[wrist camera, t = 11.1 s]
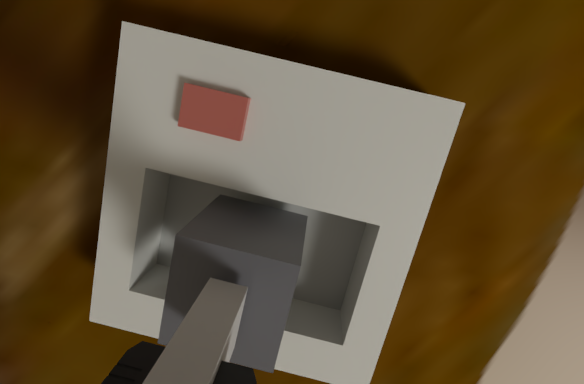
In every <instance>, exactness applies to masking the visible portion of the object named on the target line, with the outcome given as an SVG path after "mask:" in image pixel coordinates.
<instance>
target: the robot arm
mask: <svg viewBox="0 0 584 384" xmlns="http://www.w3.org/2000/svg"><path fill="white" fill-rule="evenodd" d="M247 290H248V287H245V286H241V285H238V284H234V283H230V282H226V281H222V280H218V279H214V278H210V279H209V280H208V282H207V284H206V285H205V287H204V288H203V290H202V291H201V293H200V294H199V296H198V298H197V299H196V301H195V302H194V304H193V305H192V307H191V309H190V310H189V312H188V313H187V315H186V316H185V318H184V319H183V321H182V323H181V324H180V326H179V327H178V329H177V330H176V332H175V333H174V335H173V337H172V338H171V340H170V341H169V343H168V344H167V346H166V347H163V346H159V345H155V344H152V343H148V342H144V341H142V342H140V343H139V344H137V345H135V346H134V347H132V348H130V349H129V350H127V352H126V353H125V354H124V355H123V357H122V358H121V359H120V360H119V362H118V363H117V365H115V367H114V368H113V369H112V371H111V372H110V373H109V376H107V377H106V378H105V379H104V381H103V382H102V383H101V384H256V383H257V382H256V379H255V375H254V371H253V369H252V368H249V367H245V366H241V365H237V364H233V363H229V361H230V358H231V355H232V353H233V350H234V347H235V343H236V338H237V334H238V330H239V325H240V321H241V316H242V312H243V307H244V303H245V299H246V294H247Z"/></svg>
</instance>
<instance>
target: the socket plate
mask: <svg viewBox="0 0 584 384" xmlns="http://www.w3.org/2000/svg"><path fill="white" fill-rule="evenodd" d="M464 106H465V103H462V102H458V101H454V100H450V99H446V98H442V97H437V96H433V95H429V94H425V93H421V92H416V91H412V90H408V89H404V88H400V87H396V86H391V85H387V84H383V83H379V82H375V81H371V80H366V79H362V78H358V77H354V76H350V75H346V74H341V73H337V72H333V71H329V70H325V69H320V68H316V67H312V66H308V65H304V64H300V63H295V62H291V61H287V60H283V59H279V58H275V57H270V56H266V55H262V54H258V53H254V52H249V51H245V50H241V49H237V48H233V47H229V46H224V45H220V44H216V43H212V42H208V41H204V40H199V39H195V38H191V37H187V36H183V35H179V34H174V33H170V32H166V31H162V30H158V29H153V28H149V27H145V26H141V25H137V24H133V23H128V22H124V21H122V26H121V35H120V44H119V53H118V62H117V72H116V81H115V90H114V99H113V108H112V117H111V127H110V136H109V145H108V154H107V163H106V172H105V181H104V191H103V200H102V209H101V218H100V227H99V236H98V246H97V255H96V264H95V273H94V282H93V291H92V300H91V310H90V319H89V321H92V322H96V323H100V324H104V325H107V326H111V327H115V328H119V329H123V330H127V331H131V332H134V333H138V334H142V335H146V336H150V337H154V338H159V332H160V326H161V320H162V314H163V308H164V302H165V296H166V290H167V283H168V277H169V271H170V265H171V259H172V253H173V247H174V241H175V235H176V234H177V233H178V232H179V231H180V230H181V229H182V228H183V227H184V226H186V225H187V224H188V223H189V222H190V221H191V220H192V219H193V218H194V217H196V216H197V215H198V214H199V213H200V212H201V211H202V210H203V209H204V208H206V207H207V206H208V205H209V204H210V203H211V202H212V201H213V200H214V199H216V198H217V197H218V196H219V195H220V194H222V195H226V196H230V197H234V198H238V199H242V200H246V201H250V202H254V203H258V204H262V205H266V206H270V207H274V208H278V209H282V210H286V211H290V212H294V213H298V214H302V215H306V216H308V218H307V225H306V233H305V240H304V247H303V255H302V262H301V268H300V272H299V275H298V279H297V283H296V287H295V291H294V295H293V298H292V302H291V306H290V310H289V314H288V317H287V321H286V325H285V329H284V333H283V337H282V340H281V344H280V348H279V352H278V356H277V360H276V363H275V367H274V369H277V370H281V371H285V372H289V373H293V374H296V375H300V376H304V377H308V378H312V379H316V380H320V381H323V382H327V383H331V384H370V381H371V378H372V375H373V372H374V369H375V366H376V363H377V360H378V357H379V354H380V351H381V349H382V346H383V343H384V340H385V337H386V334H387V331H388V328H389V325H390V322H391V319H392V316H393V313H394V311H395V308H396V305H397V302H398V299H399V296H400V293H401V290H402V287H403V284H404V281H405V278H406V275H407V272H408V270H409V267H410V264H411V261H412V258H413V255H414V252H415V249H416V246H417V243H418V240H419V237H420V234H421V232H422V229H423V226H424V223H425V220H426V217H427V214H428V211H429V208H430V205H431V202H432V199H433V196H434V193H435V191H436V188H437V185H438V182H439V179H440V176H441V173H442V170H443V167H444V164H445V161H446V158H447V155H448V153H449V150H450V147H451V144H452V141H453V138H454V135H455V132H456V129H457V126H458V123H459V120H460V117H461V114H462V112H463V109H464Z"/></svg>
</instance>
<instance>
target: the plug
mask: <svg viewBox="0 0 584 384" xmlns="http://www.w3.org/2000/svg"><path fill="white" fill-rule="evenodd" d="M307 218H308V216H306V215H302V214H298V213H294V212H290V211H286V210H282V209H278V208H274V207H270V206H266V205H262V204H258V203H254V202H250V201H246V200H242V199H238V198H234V197H230V196H226V195H222V194H220V195H219V196H218V197H217V198H216V199H214V200H213V201H212V202H211V203H210V204H209V205H208V206H207V207H206V208H204V209H203V210H202V211H201V212H200V213H199V214H198V215H197V216H196V217H194V218H193V219H192V220H191V221H190V222H189V223H188V224H187V225H186V226H184V227H183V228H182V229H181V230H180V231H179V232H178V233H177V234H176V235H175V241H174V247H173V253H172V259H171V265H170V271H169V277H168V283H167V290H166V296H165V302H164V308H163V314H162V320H161V326H160V332H159V338H158V343H159V344H163V345H166V346H167V344H168V343H169V341H170V340H171V338H172V337H173V335H174V333H175V332H176V330H177V329H178V327H179V326H180V324H181V323H182V321H183V319H184V318H185V316H186V315H187V313H188V312H189V310H190V309H191V307H192V305H193V304H194V302H195V301H196V299H197V298H198V296H199V294H200V293H201V291H202V290H203V288H204V287H205V285H206V284H207V282H208V280H209V279H210V278H214V279H218V280H222V281H226V282H230V283H234V284H238V285H241V286H245V287H248V290H247V294H246V299H245V303H244V307H243V312H242V316H241V321H240V325H239V330H238V334H237V338H236V343H235V347H234V350H233V353H232V355H231V358H230V361H229V362H232V363H236V364H239V365H243V366H247V367H251V368H255V369H259V370H263V371H266V372H270V373H273V371H274V367H275V363H276V360H277V356H278V352H279V348H280V344H281V340H282V337H283V333H284V329H285V325H286V321H287V317H288V314H289V310H290V306H291V302H292V298H293V295H294V291H295V287H296V283H297V279H298V275H299V272H300V268H301V262H302V255H303V247H304V240H305V233H306V225H307Z"/></svg>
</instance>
